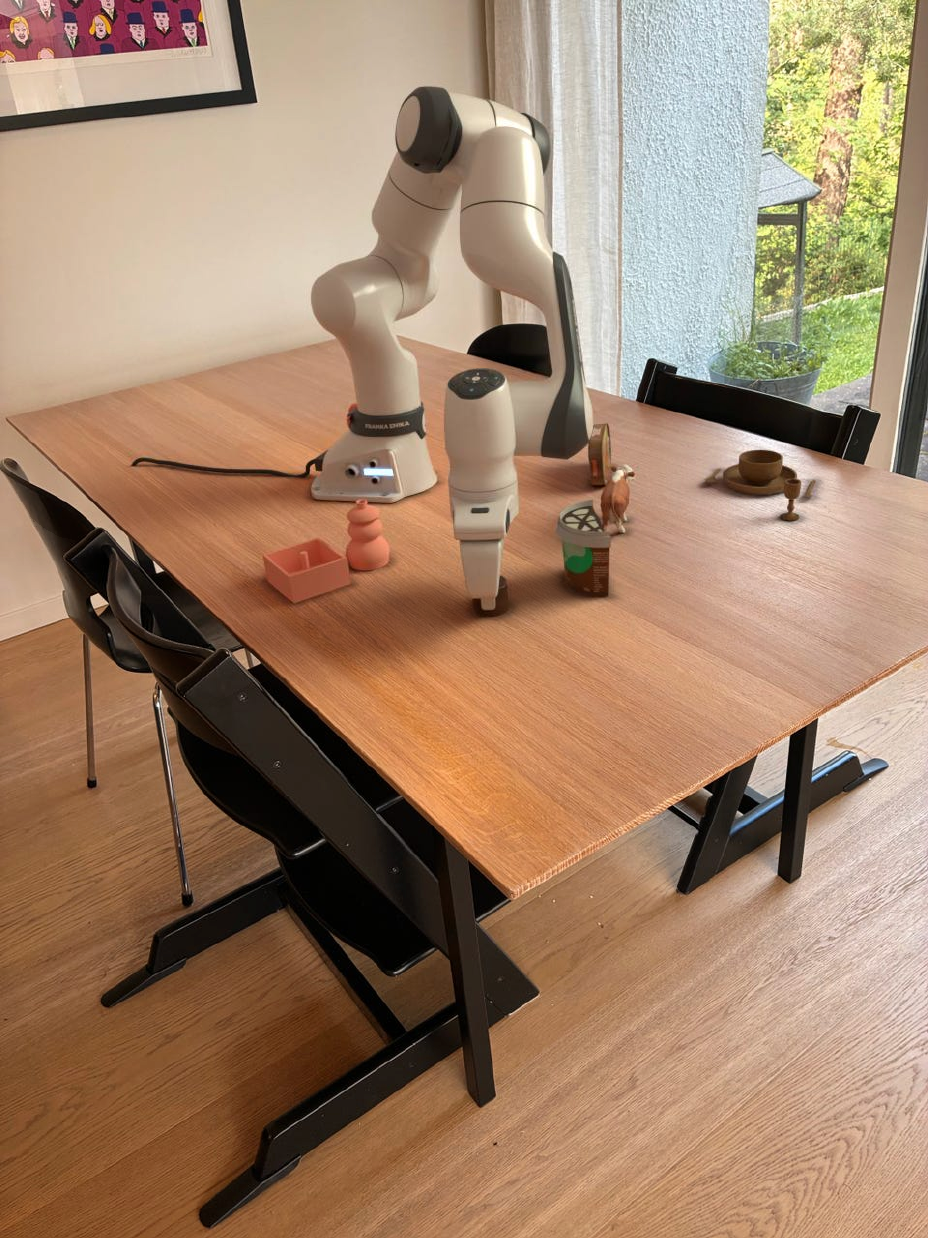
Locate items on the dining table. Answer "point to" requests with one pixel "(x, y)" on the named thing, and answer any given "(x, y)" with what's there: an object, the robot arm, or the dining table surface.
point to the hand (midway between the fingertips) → (490, 596)
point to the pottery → (328, 558)
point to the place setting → (764, 478)
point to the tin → (599, 454)
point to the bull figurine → (616, 497)
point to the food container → (584, 549)
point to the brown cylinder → (501, 601)
